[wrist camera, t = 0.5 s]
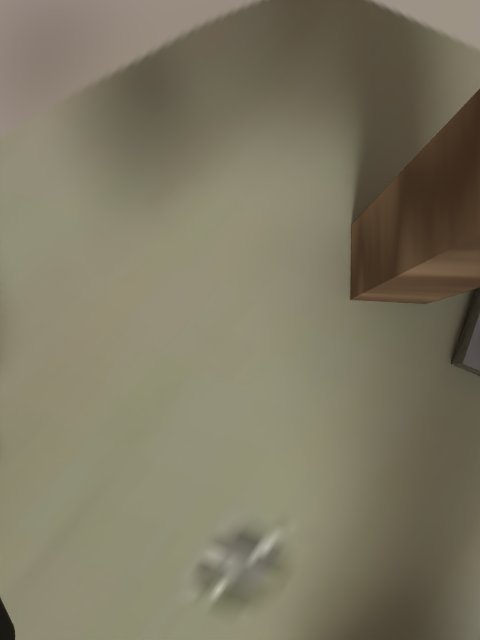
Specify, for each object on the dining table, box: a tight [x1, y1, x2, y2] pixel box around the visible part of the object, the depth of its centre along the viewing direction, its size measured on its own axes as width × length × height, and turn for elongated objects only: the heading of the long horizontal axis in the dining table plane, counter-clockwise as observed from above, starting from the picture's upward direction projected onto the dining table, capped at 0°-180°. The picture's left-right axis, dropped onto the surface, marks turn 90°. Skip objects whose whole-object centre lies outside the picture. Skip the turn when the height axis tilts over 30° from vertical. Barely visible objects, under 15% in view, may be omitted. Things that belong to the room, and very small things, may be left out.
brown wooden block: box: [350, 89, 480, 304], centre depth 15 cm, size 4×4×12 cm
